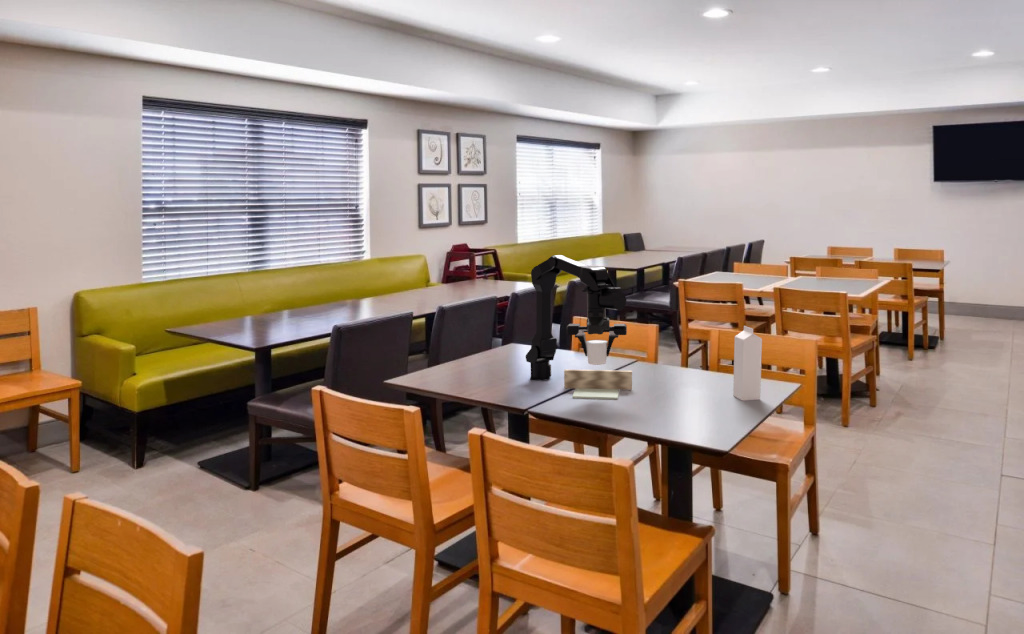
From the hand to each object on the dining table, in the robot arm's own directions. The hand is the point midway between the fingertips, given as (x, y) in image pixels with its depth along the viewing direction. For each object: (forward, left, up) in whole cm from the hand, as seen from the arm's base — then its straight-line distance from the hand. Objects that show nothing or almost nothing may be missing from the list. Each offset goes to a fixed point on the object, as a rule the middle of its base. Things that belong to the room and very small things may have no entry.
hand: (596, 356), depth 230 cm
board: (0, +7, -12) cm, 14 cm away
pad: (0, -1, -12) cm, 12 cm away
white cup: (0, 0, -2) cm, 2 cm away
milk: (+46, 0, -12) cm, 47 cm away
